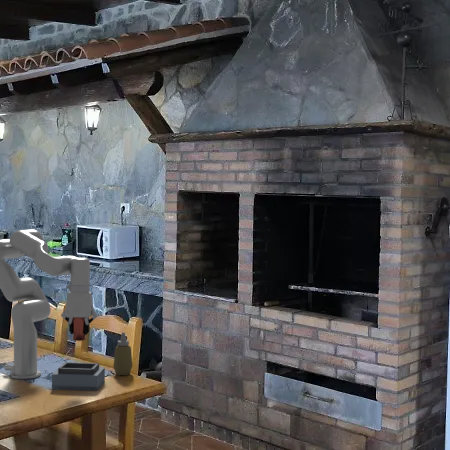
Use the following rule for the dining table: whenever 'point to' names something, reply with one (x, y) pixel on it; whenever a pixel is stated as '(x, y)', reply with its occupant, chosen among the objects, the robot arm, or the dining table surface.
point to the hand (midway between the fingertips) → (79, 333)
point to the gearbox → (78, 376)
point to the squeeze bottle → (123, 357)
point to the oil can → (78, 329)
